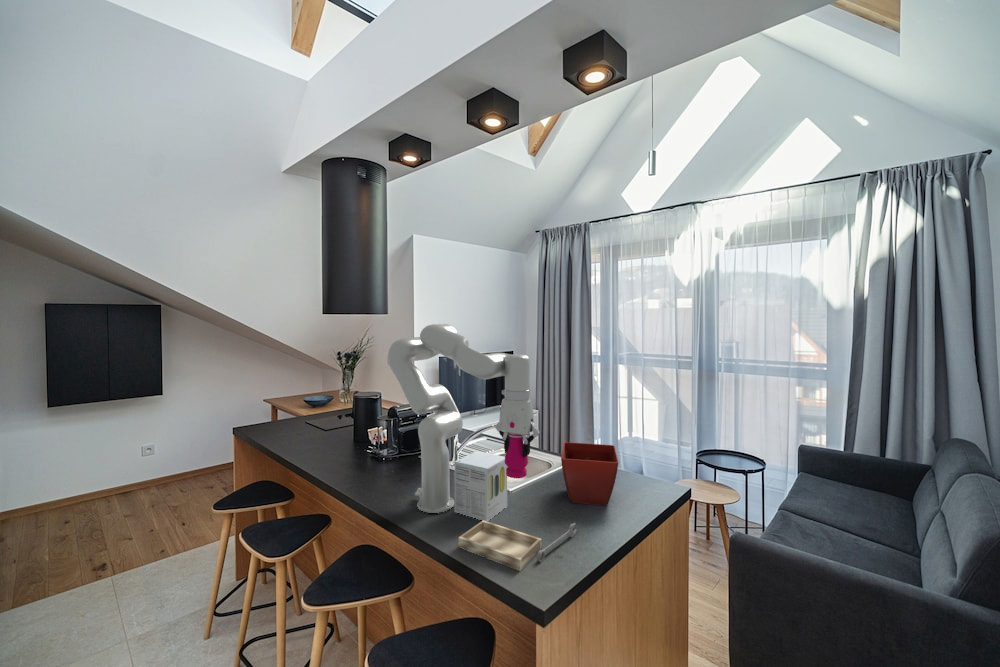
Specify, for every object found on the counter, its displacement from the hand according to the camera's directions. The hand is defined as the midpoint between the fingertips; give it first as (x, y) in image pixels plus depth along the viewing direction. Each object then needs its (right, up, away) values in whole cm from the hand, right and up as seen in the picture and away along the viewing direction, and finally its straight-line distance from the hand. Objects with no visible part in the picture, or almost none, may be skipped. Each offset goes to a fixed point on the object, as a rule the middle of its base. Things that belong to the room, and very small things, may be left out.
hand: (516, 453), depth 127 cm
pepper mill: (0, -7, 0) cm, 7 cm away
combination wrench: (+11, -24, -9) cm, 28 cm away
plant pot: (+27, -23, +23) cm, 42 cm away
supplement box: (-11, -23, +13) cm, 29 cm away
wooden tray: (-5, -24, -10) cm, 26 cm away
